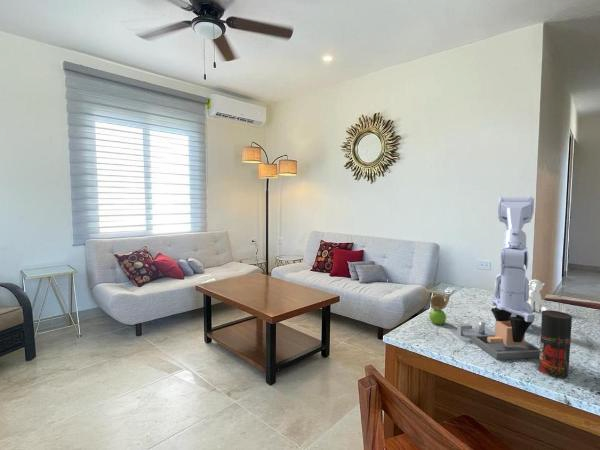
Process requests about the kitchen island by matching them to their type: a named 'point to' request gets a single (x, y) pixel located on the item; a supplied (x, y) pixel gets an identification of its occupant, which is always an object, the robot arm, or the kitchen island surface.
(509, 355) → the tray
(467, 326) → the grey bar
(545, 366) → the deodorant
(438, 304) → the green base glass goblet
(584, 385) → the kitchen island surface
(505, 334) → the orange hollow square box
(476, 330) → the slate board
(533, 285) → the white creature statuette
